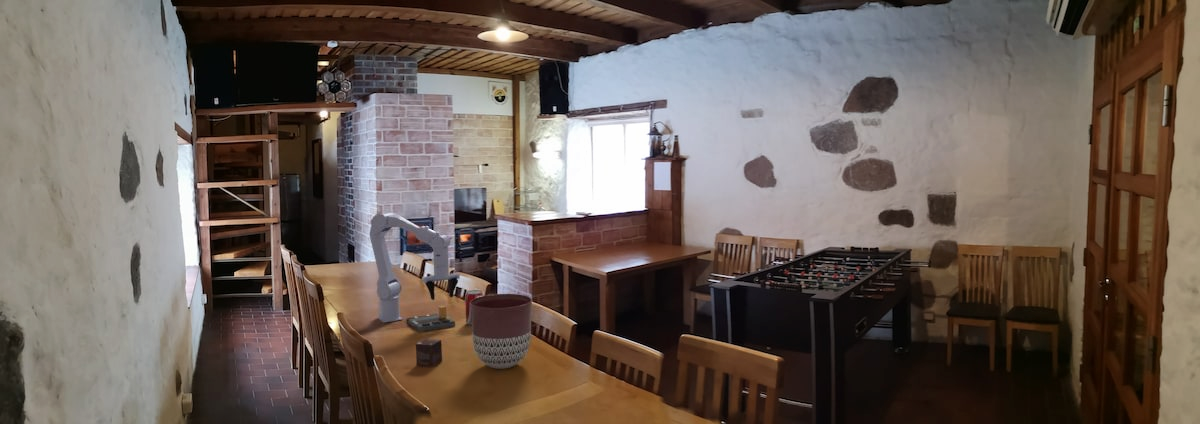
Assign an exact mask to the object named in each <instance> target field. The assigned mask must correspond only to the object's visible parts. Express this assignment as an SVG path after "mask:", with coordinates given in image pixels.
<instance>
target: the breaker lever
mask: <svg viewBox="0 0 1200 424" xmlns="http://www.w3.org/2000/svg"><path fill="white" fill-rule="evenodd" d="M438 314H439V317H440V318H441V319H442V318H446V316H447V306H445V305H439V306H438Z"/></svg>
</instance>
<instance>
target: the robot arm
mask: <svg viewBox="0 0 1200 424" xmlns="http://www.w3.org/2000/svg"><path fill="white" fill-rule="evenodd" d="M370 224H371V226H370V230H369V238H370V243H371V246H372V251H373V256H374V260H375V263H376V264H375V265H376V268H377V272H378V279H377V282H376V294H377V297H378V298H379V301H378V307H379V308H378V310H379V312H378V313H379V316H376V318H377V319H378V320H379V321H380V322H382V323H389V322H397V321H402V320H403V317H401V316H400V293H401V292H402V288H403V287H402V284H401V282H400V281H399V279H398V276H397V275H396V274H395V273H394V271H393V267H392V264H391V263H392V262H391V259H390V255H389V250H388V246H387V241H386V238H385V236H386V235H387V233H388V232H389V231H390V230H391V229H392V228H400V229H401V230H402V229H403V230H405V231H407V232H409V233H412V234H414V235H415V237H416V239H417V240H418V241H420V242H423V243H424V244H427V245H429V246H430V247H431V249H432V250H433V275H428V276H423V277H422V282H423V283H425V286H426V288H427V290H428V293H429V295H430V299H431V300H432V301H435V287H436V283H434V282H440V281H441V282H442V281H448V293H449V294H448V295H449V298H453V297H454V293H455V290H456V287H457V284H458V283H459V280H460V277H461V275H460V273H457V272H455V273H450V272H449V271H450V270H449V265H450V264H449V246H450V245H451V239H450V237H449V236H448V235H447V234H446V233H440V231H435V230H432V228H431V229H430V226H428V225H425V226H424V225H422V226H419V225H417V224H415V223H413V222H412V221H409V220H408V219H407V218H404V217H402V216H401V215H400V214H398V213H395V212H394V211H387V212H383V213H376V214H375V215H373V217H372V218H371V220H370Z"/></svg>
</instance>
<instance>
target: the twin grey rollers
mask: <svg viewBox="0 0 1200 424" xmlns="http://www.w3.org/2000/svg"><path fill="white" fill-rule="evenodd" d="M431 315H438V313H434V314H433V313H432V314H426V315H420V316H419V315H418V316H413V317H407V318H406V322H407V323H409V322H408V319H412V318H418V317H425V316H431Z"/></svg>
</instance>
